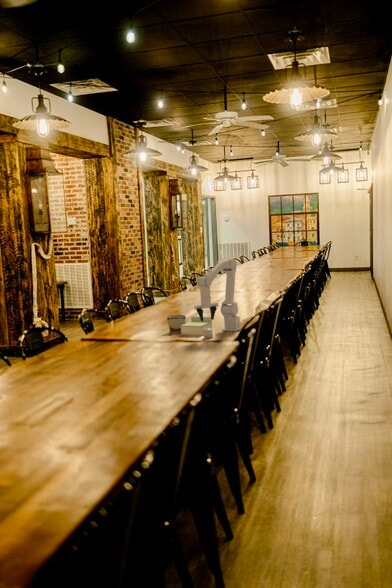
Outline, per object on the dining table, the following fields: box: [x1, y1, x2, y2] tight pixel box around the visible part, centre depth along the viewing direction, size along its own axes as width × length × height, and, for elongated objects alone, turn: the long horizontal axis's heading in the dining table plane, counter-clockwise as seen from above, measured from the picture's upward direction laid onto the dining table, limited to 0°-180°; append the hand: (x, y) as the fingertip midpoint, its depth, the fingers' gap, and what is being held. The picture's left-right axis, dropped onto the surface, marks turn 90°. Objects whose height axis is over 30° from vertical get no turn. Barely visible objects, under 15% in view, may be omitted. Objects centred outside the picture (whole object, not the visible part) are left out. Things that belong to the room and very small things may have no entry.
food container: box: [166, 314, 187, 334], centre depth 349 cm, size 12×6×10 cm, turn 84°
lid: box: [181, 315, 213, 327], centre depth 340 cm, size 14×14×4 cm
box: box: [180, 322, 213, 336], centre depth 341 cm, size 14×14×5 cm
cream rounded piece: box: [203, 328, 214, 340], centre depth 324 cm, size 5×5×5 cm
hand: (207, 320), depth 323 cm, fingers open, 6 cm apart
